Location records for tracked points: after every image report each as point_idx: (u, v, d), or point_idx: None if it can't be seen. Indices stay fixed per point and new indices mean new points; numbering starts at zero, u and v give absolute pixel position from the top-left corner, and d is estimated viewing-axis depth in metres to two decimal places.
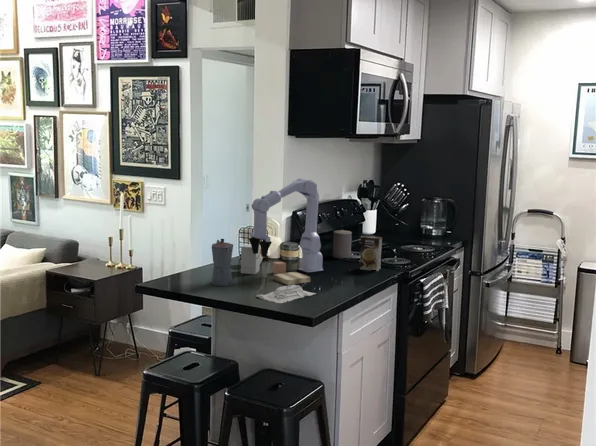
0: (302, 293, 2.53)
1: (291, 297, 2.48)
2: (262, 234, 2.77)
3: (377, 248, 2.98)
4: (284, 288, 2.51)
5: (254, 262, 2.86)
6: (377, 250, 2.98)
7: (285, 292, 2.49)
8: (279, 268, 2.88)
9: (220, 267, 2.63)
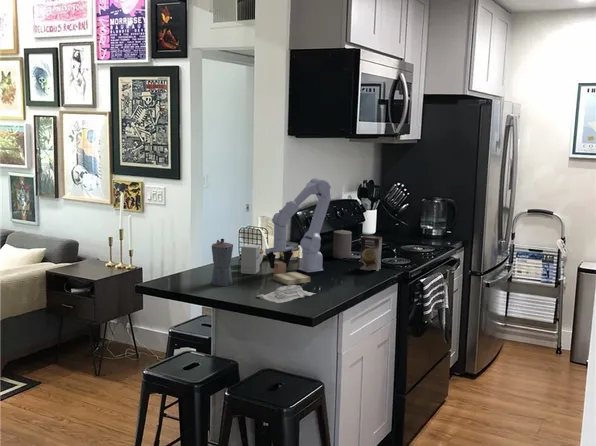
0: (302, 293, 2.53)
1: (291, 297, 2.48)
2: (274, 246, 2.88)
3: (377, 248, 2.98)
4: (284, 288, 2.51)
5: (254, 262, 2.86)
6: (377, 250, 2.98)
7: (285, 292, 2.49)
8: (279, 268, 2.88)
9: (220, 267, 2.63)
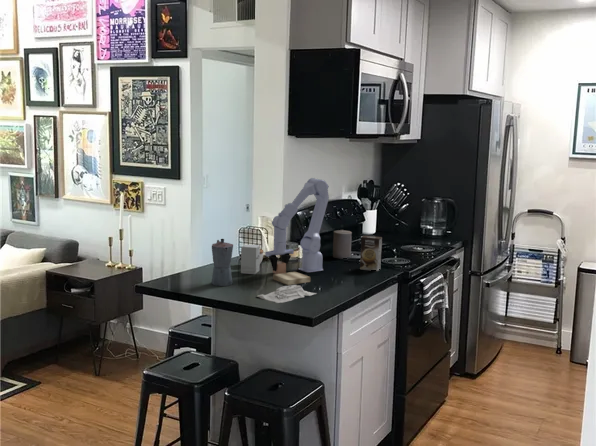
0: (303, 293, 2.53)
1: (292, 297, 2.48)
2: (274, 249, 2.88)
3: (377, 248, 2.98)
4: (285, 288, 2.51)
5: (254, 262, 2.86)
6: (377, 250, 2.98)
7: (286, 292, 2.49)
8: (279, 268, 2.88)
9: (220, 267, 2.63)
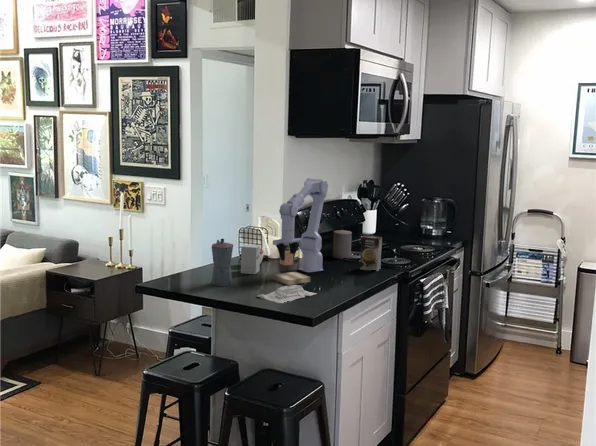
0: (303, 293, 2.53)
1: (292, 297, 2.48)
2: (282, 238, 2.78)
3: (377, 248, 2.98)
4: (285, 288, 2.51)
5: (254, 262, 2.86)
6: (377, 250, 2.98)
7: (286, 292, 2.49)
8: (286, 258, 2.78)
9: (220, 267, 2.63)
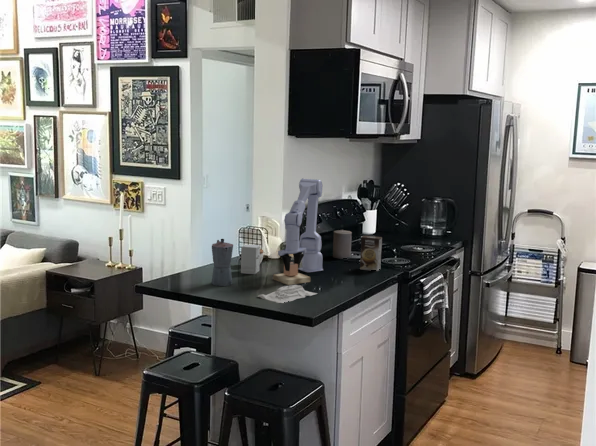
0: (303, 293, 2.53)
1: (292, 297, 2.48)
2: (286, 248, 2.73)
3: (377, 248, 2.98)
4: (285, 288, 2.51)
5: (254, 262, 2.86)
6: (377, 250, 2.98)
7: (286, 292, 2.49)
8: (291, 269, 2.74)
9: (220, 267, 2.63)
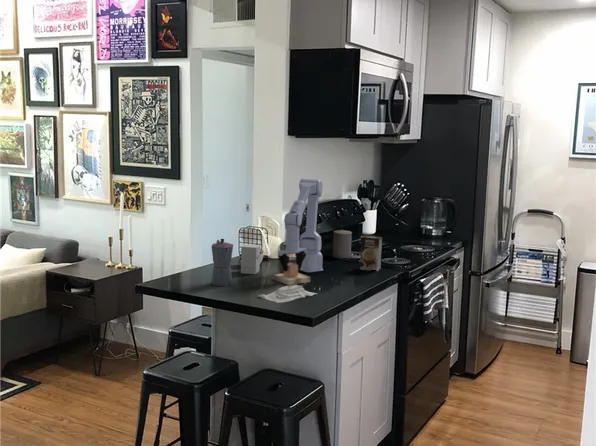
0: (304, 293, 2.53)
1: (293, 297, 2.48)
2: (286, 248, 2.73)
3: (377, 248, 2.98)
4: (286, 288, 2.51)
5: (254, 262, 2.86)
6: (377, 250, 2.98)
7: (287, 292, 2.49)
8: (291, 270, 2.74)
9: (220, 267, 2.63)
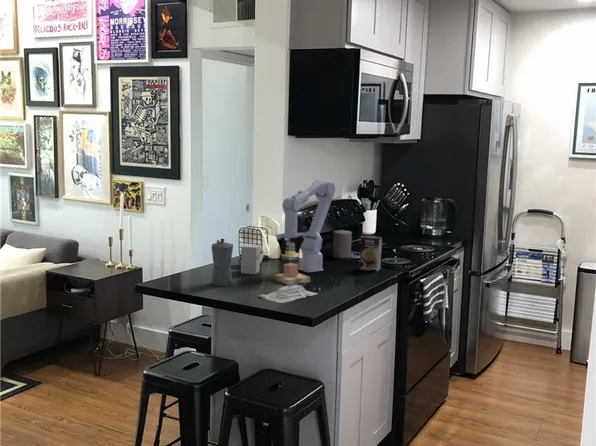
0: (304, 293, 2.53)
1: (293, 297, 2.48)
2: (285, 232, 2.82)
3: (377, 248, 2.98)
4: (286, 288, 2.51)
5: (254, 262, 2.86)
6: (377, 250, 2.98)
7: (287, 292, 2.49)
8: (291, 270, 2.74)
9: (220, 267, 2.63)
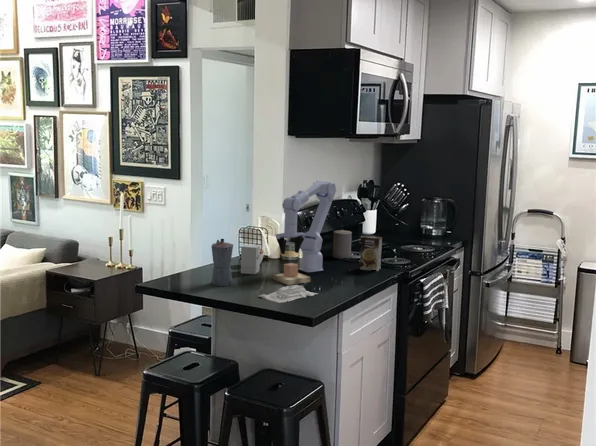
0: (305, 293, 2.53)
1: (293, 297, 2.48)
2: (284, 232, 2.83)
3: (377, 248, 2.98)
4: (287, 288, 2.51)
5: (254, 262, 2.86)
6: (377, 250, 2.98)
7: (287, 292, 2.50)
8: (291, 270, 2.74)
9: (220, 267, 2.63)
